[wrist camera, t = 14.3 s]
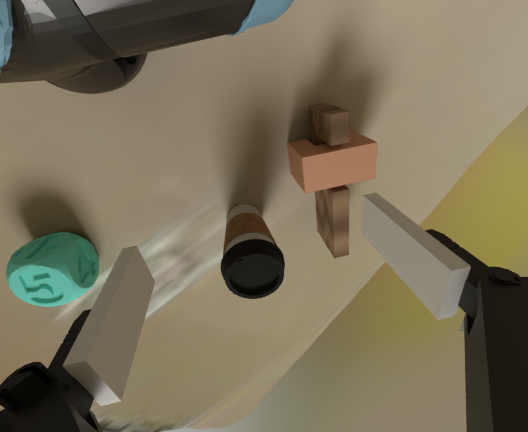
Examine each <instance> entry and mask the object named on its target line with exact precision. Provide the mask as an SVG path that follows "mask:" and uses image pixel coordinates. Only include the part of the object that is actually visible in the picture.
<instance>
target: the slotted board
mask: <svg viewBox="0 0 528 432" xmlns="http://www.w3.org/2000/svg"><path fill="white" fill-rule="evenodd" d="M309 108H310V123H311V138H312V144H314V145H315V146H316V145H321V144H326V143H328V144H329V145H331V146H332V145H337V144H342V143H347V142H349V123H350V111H348V110H345V109H342V108H339V107H335V106H332V105H329V104H326V103H324V104H319V105H314V106H309ZM315 198H316V213H317V228H318V233H319V234H320V236H321V237H322V239H323V241H324V242H325V244H326V245H327V247H328V249H329V250H330V252H331V253H332V255H333V257H334V258H337V257H341V256H345V255H349V189H348V188H347V187H346V186H345V185H342V186H337V187H333V188H328V189H324V190H319V191H315Z"/></svg>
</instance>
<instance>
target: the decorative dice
mask: <svg viewBox="0 0 528 432" xmlns="http://www.w3.org/2000/svg"><path fill="white" fill-rule="evenodd" d="M98 272H99V261H98V256H97V253H96V250H95V248H94V247H93V245H92V244H91V243H90V242H89V241H88V240H86V239H85V238H83V237H81V236H79V235H76V234H73V233H69V232H59V233H53V234H49V235H46V236H43V237H40V238H38V239H36V240H33V241H31V242H29V243H27V244H26V245H24V246H22V247H21V248H19V249H18V250H17V251H16V252H15V253H14V254H13V255H12V256H11V258H10V260H9V262H8V265H7V270H6V277H7V282H8V285H9V287H10V289H11V290H12V292H13V293H14V294H15V295H16V296H17V297H19V298H20V299H22V300H23V301H25V302H27V303H30V304H33V305H37V306H45V307H51V306H59V305H63V304H66V303H68V302H70V301H73V300H75V299H76V298H78V297H80V296H81V295H83V294H84V293H85V292H87V291H88V290H89V289H90V288H91V287H92V286H93V284H94V283H95V281H96V279H97V276H98Z"/></svg>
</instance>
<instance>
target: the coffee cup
mask: <svg viewBox="0 0 528 432" xmlns="http://www.w3.org/2000/svg"><path fill="white" fill-rule="evenodd" d="M284 267H285V262H284V257H283V254H282V252H281V250H280V249H279V248H278V247H277V244H276V243H275V241H274V239H273V237H272V235H271V233H270V231H269V229H268V227H267V225H266V224H265V222H264V220H263V218H262V216H261V214H260V212H259V210H258V209H257V208H256V207H254V206H252V205H249V204H241V205H238V206H235V207H234V208H233V209H232V210H231V211H230V212H229V213H228V216H227V224H226V233H225V242H224V251H223V259H222V261H221V272H222V276H223V278H224V280H225V283H226V285H227V287H228V288H229V290H230V291H232V292H233V293H234V294H236V295H238V296H240V297H243V298H248V299H256V298H262V297H265V296H268V295H270V294H271V293H273V292H274V291H276V290H277V289H278V288H279V286H280V285H281V283H282V281H283V278H284Z"/></svg>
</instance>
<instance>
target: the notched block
mask: <svg viewBox="0 0 528 432" xmlns="http://www.w3.org/2000/svg"><path fill="white" fill-rule="evenodd" d="M287 145H288V154H289V162H290V171H291V174H292V176H293V177H294V179H295V180H296V181H297V183H298V184H299V185H300V187H301V188H302V190H303V191H304V192H305V193H310V192H314V191H319V190H324V189H328V188H333V187H337V186H342V185H346V184H351V183H356V182H360V181H365V180H369V179H374V178H375V175H376V159H377V142H376V141H374V140H371V139H369V138H367V137H365V136H363V135H360V134H358V133H356V132H354V131H352V130H349V142H347V143H342V144H337V145H332V146H331V145H329V144H328V143H326V144H321V145H316V146H315V145H314V144H312V143H311V142H310V141H309V140H307V139H303V140H298V141H293V142H288V143H287Z"/></svg>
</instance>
